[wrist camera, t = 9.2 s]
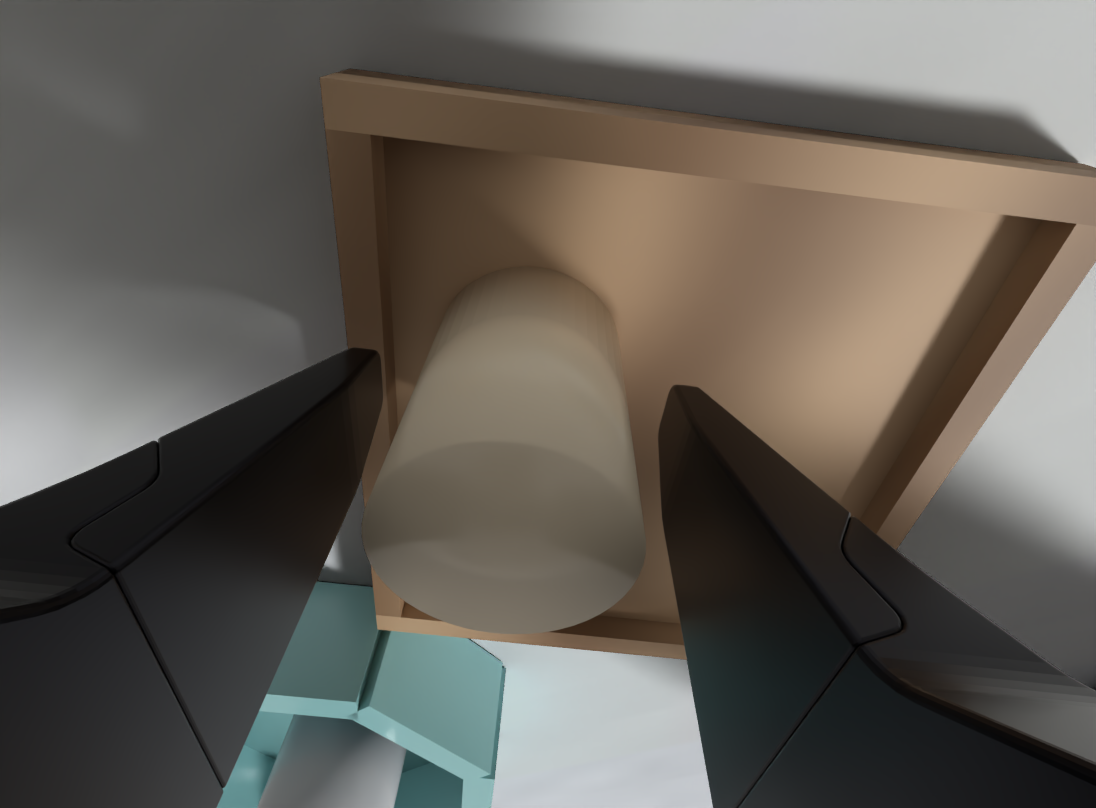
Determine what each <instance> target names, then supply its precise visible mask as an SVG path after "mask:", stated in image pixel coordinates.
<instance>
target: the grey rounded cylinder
mask: <svg viewBox="0 0 1096 808" xmlns="http://www.w3.org/2000/svg"><path fill="white" fill-rule="evenodd" d="M406 750H407V749H406V748H404V747H402V746H400V745H398V744H396V743H394V742H393V741H391V740H389V739H387V738H385V737H383V736H381V735H380V734H378V733H376V732H374V731H372V730H370V729H368V728H367V727H365V726H363V725H361V724H359V723H357V722H355V721H353V720H351V719H341V718H330V717H319V716H308V715H297V714H294V715H293V717H292V720H291V722H290V725H289V727H288V730H287V733H286V735H285V738H284V740H283V743H282V745H281V748H280V750H279V753H278V756H277V758H276V761H275V763H274V766H273V768H272V771H271V773H270V776H269V779H268V781H267V784H266V786H265V789H264V791H263V794H262V796H261V799H260V802H259V804H258V807H257V808H394V805H395V800H396V796H397V791H398V787H399V782H400V777H401V773H402V768H403V764H404V759H405V755H406Z"/></svg>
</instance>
